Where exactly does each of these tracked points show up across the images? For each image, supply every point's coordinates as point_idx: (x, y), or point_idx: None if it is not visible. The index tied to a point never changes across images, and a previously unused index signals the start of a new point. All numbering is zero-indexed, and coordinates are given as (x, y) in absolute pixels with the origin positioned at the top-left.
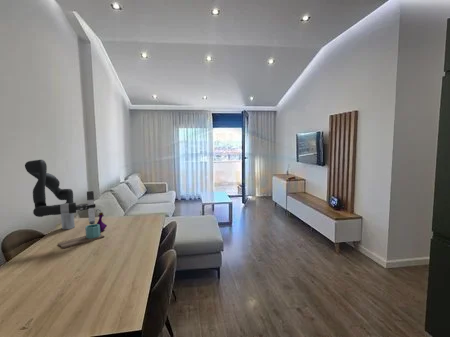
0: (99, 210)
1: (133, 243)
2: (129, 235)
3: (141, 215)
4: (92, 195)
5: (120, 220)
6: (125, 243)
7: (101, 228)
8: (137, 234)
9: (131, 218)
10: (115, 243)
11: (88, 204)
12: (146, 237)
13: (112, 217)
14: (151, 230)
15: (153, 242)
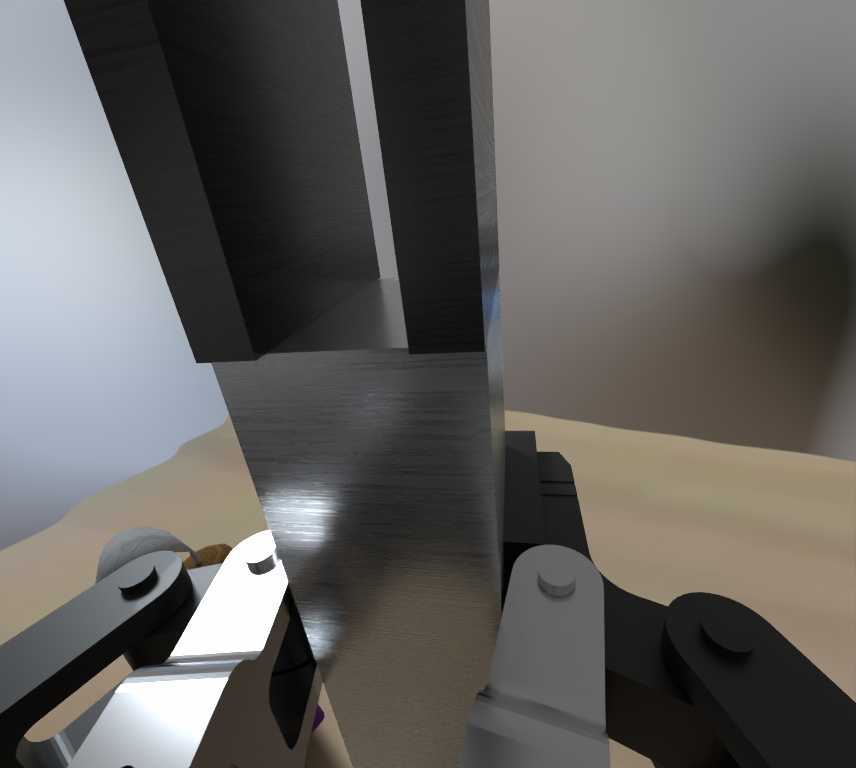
0: (175, 548)
1: (847, 555)
2: (606, 542)
3: (223, 431)
4: (489, 36)
5: (165, 526)
6: (846, 605)
7: (321, 720)
8: (605, 500)
9: (212, 472)
10: (845, 689)
11: (498, 556)
12: (699, 474)
13: (8, 557)
14: (558, 439)
15: (824, 464)
